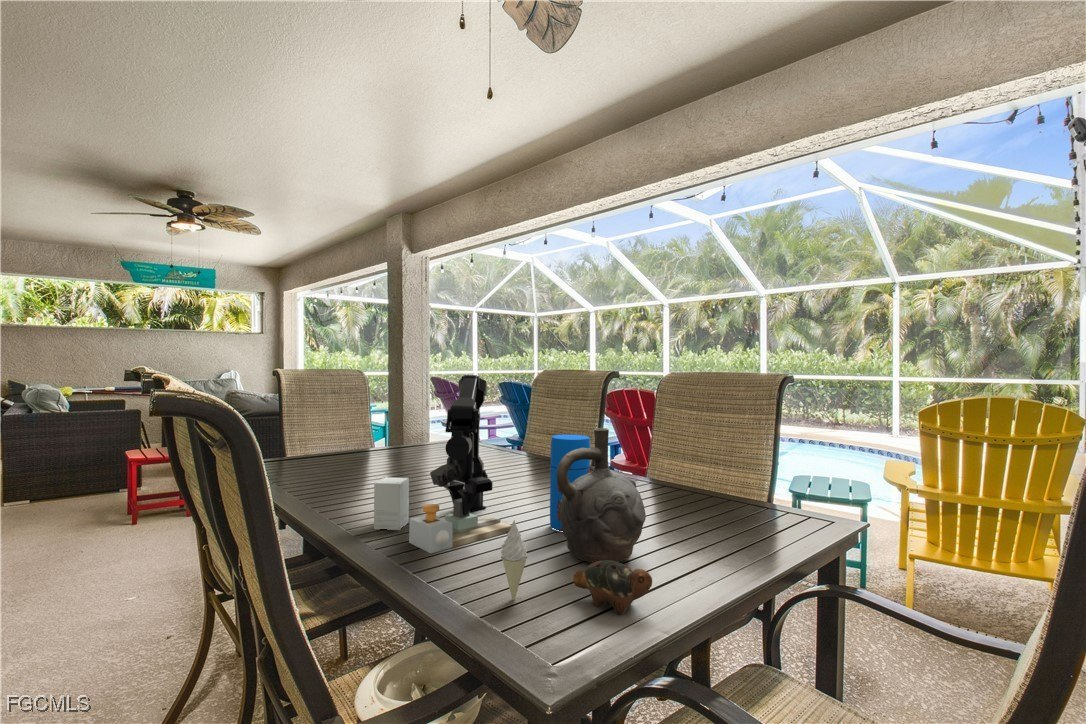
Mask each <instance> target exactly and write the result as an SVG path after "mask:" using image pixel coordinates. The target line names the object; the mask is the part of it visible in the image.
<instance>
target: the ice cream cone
mask: <svg viewBox="0 0 1086 724" xmlns="http://www.w3.org/2000/svg"><path fill="white" fill-rule="evenodd" d="M511 525H512V527H511V529H510V531H509V532H507V534H506V536H507V537H506V539H505V540H504V541H503V543H502V545H501V550H500V554H501V556H500V558H501V561H502V564H503V568H504V572H505V576H506V580H507V584H508V588H509V592H510V597H511V600H512V601H514V600H516V596H517V593H518V590H519V586H520V582H521V580H522V577H523V576H522V575H523V572H524V569H525V565H526V562H527V559H528V554H527V547H526V546H527V545H526V543H525V541H524V540H522V537H521V536H522V534H521V533H520V531H519V529H518V526H517V524H516V520H513V521H512V524H511Z"/></svg>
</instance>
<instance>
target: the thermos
mask: <svg viewBox="0 0 1086 724" xmlns="http://www.w3.org/2000/svg"><path fill="white" fill-rule="evenodd" d="M550 439H551V440H550V475H549V476H550V478H549V479H550V480H549V481H550V482H549V487H550V489H549V491H550V493H549V495H550V496H549V519H550V520H549V526H551V527H552V528H554V529H556V530H559V531H563V529H562V525H561V519H560V516H559V511H558V510H559V504H560V501H561V500H562V496H563V493H562V491H561V490H560V488H559V486H558V483H557V469H558V465H559V463H560V461H561V460H562V458H563V457H564V456H565V455H566V454H567V453H569V452H571V451H573V450H576V449H580V448H591V439H590V437H589V435H583V434H581V435H580V434H555V435H552V436H551V438H550ZM588 473H591V460H588V459H583V460H577V461H575V462H574V463H573V464H572V465H571V467H570V468H569V470H568V480H569V482H570V483H573V482H574V481H575V480H576V479H577V478H579V477H581V476H583V475H585V474H588ZM551 527H550V528H551Z"/></svg>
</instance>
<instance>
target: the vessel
mask: <svg viewBox="0 0 1086 724" xmlns="http://www.w3.org/2000/svg"><path fill="white" fill-rule="evenodd" d="M593 429H594V430H593V432H594V448H591V447H590V448H580V449H576V450H573V451H571V452H569V453H567V454H566V455H565V456H564V457H563V458H562V460H561V461H560V463H559V465H558V469H557V483H558V486H559V488H560V490H561V491H562V493H563V496H562V500H561V501H560V504H559V510H558V511H559V516H560V519H561V525H562V529H563V532H564V533H563V535H564V537H565V539H566V547H567V549H568V551H569V552H568V553H570V554H571V555H572V556H573V557H574V558H577V560H578V559H579V560H581V561H584V562H588V563H591V564H592V563H594V562H597V561H602V560H611V561H616V562H619V563H620V562H624V561H626V560H628V559H629V558H630V557H631V556H632V554H633V550H634V546H635V545H636V543H637V542H638V541H639V538H640V537H641V535H642V532H643V526H644V524H645V522H646V515H647V514H646V509H645V505H644V502H643V498H642V496H641V493H640V491H639V490H638V489H637V483H636V481H635V480H634V479H631V478H629V477H627V476H625V475H621V474H618V473H614V472H612V470H611V469H610V467H609V436H610V435H609V433H610V430H609V429H608V428H605V427H603V428H602V427H597V428H593ZM583 459H588V460H590V461H594V468H593V470H592V471H590V473H588V474H585V475H583V476H581V477H579V478H577V479H576V480H575V481H574V482H573V483H570V482H569V480H568V470H569V468H570V467H571V465H572V464H573V463H574V462H575V461H577V460H583Z"/></svg>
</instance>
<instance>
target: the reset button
mask: <svg viewBox="0 0 1086 724" xmlns="http://www.w3.org/2000/svg"><path fill="white" fill-rule="evenodd" d="M439 511H440V505H439V504H435V503H429V504H424V505H422V512H424V513H425V515H426V523H428V524H429V523H433V522H436V516H437V513H438V512H439Z"/></svg>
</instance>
